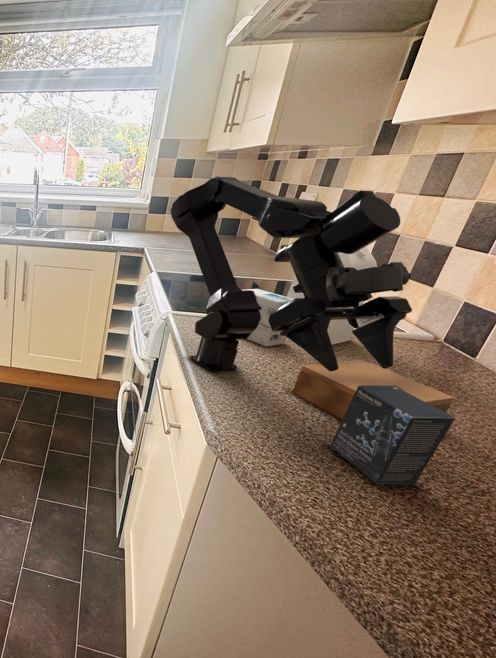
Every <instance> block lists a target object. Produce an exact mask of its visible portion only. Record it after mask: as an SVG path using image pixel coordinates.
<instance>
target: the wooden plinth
mask: <svg viewBox="0 0 496 658" xmlns="http://www.w3.org/2000/svg"><path fill="white" fill-rule="evenodd" d="M337 363H338V370H335V371H328V370H327V369H326V368H325V367H324V366H323V365H321V364H320V363H315V364H314V363H313V364H305V365H302V366H301V368H300V370H299V373H298V376H297V379H296V381H295V383H294V386H293V389H292V391H291V393H293V394H294V395H296V396H297V397H299V398H302V399H303V400H305V401H307V402H308V403H311V404H312V405H314V406H316V407H318V408H320V409H321V410H323V411H325V412H327V413H329V414H331V415H333V416H334V417H336V418H338V419H340V420H342V419H343V417H344V415H345V413H346V411H347V409H348V407H349V404H350V402H351V400H352V398H353V396H354V394H355V392H356V390H357V388H358V386H361V385H380V386H394V385H396V386H397V387H399V388H401V389H402V390H404V391H405V392H407V393H409V394H411V395H413V396H415V397H417V398H419V399H421V400H422V401H424V402H426V403H428V404H430V405H432V406H434V407H436V408H438V409H440V410H442V411H443V412H445V413H448V410H449V408H450V407H451V406H452V403H453V402H454V401H455V397H454V396H453V395H450V394H447V393H444V392H442V391H439V390H437V389H435V388H432V387H429V386H427V385H425V384H422V383H419V382H417V381H415V380H412V379H410V378H407V377H405V376H403V375H400V374H398V373H396V372H392V371H390V370H387V369H386V368H383V367H381V366H377V365H375V364H373V363H370V362H368V361H365V360H363V359H355V360H344V361H337Z"/></svg>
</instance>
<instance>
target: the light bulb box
mask: <svg viewBox="0 0 496 658" xmlns="http://www.w3.org/2000/svg"><path fill="white" fill-rule="evenodd" d="M241 290H242V291H246V290H252V291H253V292H254V293H255V295H256V300H257V303H258V304H259V306H260V307H261V308H262V309H261V310H259V311H260V315H261V321H259V324H258V326H257V328H256V329H255V330H254V331H253V332H252V333H251V335H250V336H249V337H248V339H247V340H249V341H251V342H254V343H256V344H259V345H261V346H263V347H272V346H278V345H285V344H286V342H287V339H288V338H287V337H286V336H281V334H280V332H282V331H272V329H271V327H270V324H269V321H268V319H269V316H270V313H271V312H272V311H274V310H276V309H277V308H279V307H281V306H283V305H285V304H286V303H288V302H290V301H292V300H293V299H292V298H288V297H286V296H284V295H281V294H277V293H274V292H270V291H267V290H263V289H260V288H250V289H249V288H247V289H241Z"/></svg>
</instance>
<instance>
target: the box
mask: <svg viewBox="0 0 496 658" xmlns="http://www.w3.org/2000/svg"><path fill="white" fill-rule="evenodd" d="M455 420H456V417H455V416H453V415H452V414H450V413H448V412H446V413H445V412H443V411H442V410H440V409H438V408H436V407H434V406H432V405H430V404H428V403H426V402H424V401H422V400H421V399H419V398H417V397H415V396H413V395H411V394H409V393H407V392H405V391H404V390H402V389H401V388H399V387H397V386H396V385H394V386H380V385H361V386H358V388H357V390H356V392H355V394H354V396H353V398H352V400H351V402H350V404H349V407H348V409H347V411H346V413H345V415H344V417H343V419H341V422H340V423H339V425H338V428H337V430H336V432H335V434H334V437H333V438H332V441H331V443H330V445H329V447H330V449H331V450H333V451H335V452H336V453H337V454H338V455H340V456H341V457H342V459H343V458H344V459H345V461H347V462H348V463H350V464H351V465H352V466H353V467H354V468H356V469H357V470H358V471H360V472H361V473H362V474H363V475H365V476H366V477H367V478H368V479H369V480H370V481H372V482H373V483H374V484H375V485H415V484H417V482H418V481H419V479H420V477H421V476H422V474H423V472H424V470H425V469H426V467H427V465H428V464H429V462H430V461H431V459H432V457H433V456H434V454H435V452H436V451H437V449H438V447H439V446H440V445H441V442H442V441H443V439H444V438H445V436H446V434H447V433H448V432H449V430H450V428H451V426H452V425H453V423H454V421H455Z"/></svg>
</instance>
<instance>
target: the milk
mask: <svg viewBox="0 0 496 658" xmlns="http://www.w3.org/2000/svg"><path fill="white" fill-rule="evenodd" d="M338 254H339V256H340V258H341V260H342V263H343V265H344V267H353V268H355V269H357V270H361V269H366V268H371V267H378V265H377V264H378V263H377V260H376V258H375V257H374V255H373V254H372V253H371V251H370V250H369V249H368V247H367V246H366V247H364V248H362V249H361V250H359V251H357V252H355V253H353V254H345V253H342V252H340V253H338ZM297 284H299V283H298V281H297V278H296V276H295V275H294V277H293V280H292V282H291V284H290V287H289V289H288V292H287V294H286V296H285V297H288V298H292V299H295V298H304V295H303V293H295V292H294V289H293V287H294V286H296V285H297ZM364 303H365V301H361V302H359V305H358V306H360V305H362V304H364ZM344 313H345V312H344ZM352 330H355V328H354V327H353V326H351V325H350V324H349V322H348V320H347V319H341V320H330V323H329V326H328V330H327V331H328V335H329V338H330V341H331V344H332V346H333V345H337V344H341V343H345V342H349V341H350V340H351V337H352V334H353V333H352Z"/></svg>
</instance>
